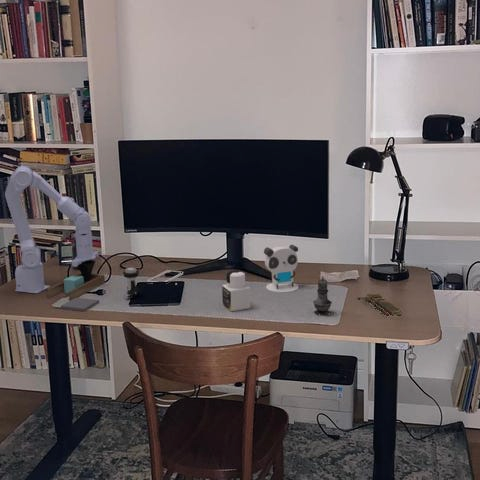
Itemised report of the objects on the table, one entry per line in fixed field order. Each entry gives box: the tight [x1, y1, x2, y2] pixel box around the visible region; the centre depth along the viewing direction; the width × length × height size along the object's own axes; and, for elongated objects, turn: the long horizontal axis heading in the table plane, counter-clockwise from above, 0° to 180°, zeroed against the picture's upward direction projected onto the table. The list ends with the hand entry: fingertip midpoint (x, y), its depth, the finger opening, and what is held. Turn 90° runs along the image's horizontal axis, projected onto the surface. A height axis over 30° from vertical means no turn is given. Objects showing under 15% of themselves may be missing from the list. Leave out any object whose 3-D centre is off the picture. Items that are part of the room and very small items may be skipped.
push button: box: [122, 267, 140, 300], centre depth 227 cm, size 7×5×10 cm
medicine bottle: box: [221, 269, 251, 312], centre depth 216 cm, size 7×7×12 cm
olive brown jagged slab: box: [357, 293, 403, 316], centre depth 215 cm, size 22×9×2 cm, turn 12°
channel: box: [46, 272, 106, 301], centre depth 238 cm, size 10×21×3 cm, turn 159°
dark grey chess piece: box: [313, 276, 333, 316], centre depth 209 cm, size 6×6×12 cm
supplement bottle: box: [71, 237, 80, 271], centre depth 265 cm, size 7×7×12 cm
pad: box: [60, 297, 100, 312], centre depth 221 cm, size 9×9×1 cm
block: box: [63, 275, 85, 294], centre depth 236 cm, size 4×6×5 cm
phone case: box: [147, 269, 184, 283], centre depth 250 cm, size 7×1×15 cm
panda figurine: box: [263, 244, 299, 294], centre depth 235 cm, size 12×11×15 cm
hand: (86, 280), depth 244 cm, fingers closed
